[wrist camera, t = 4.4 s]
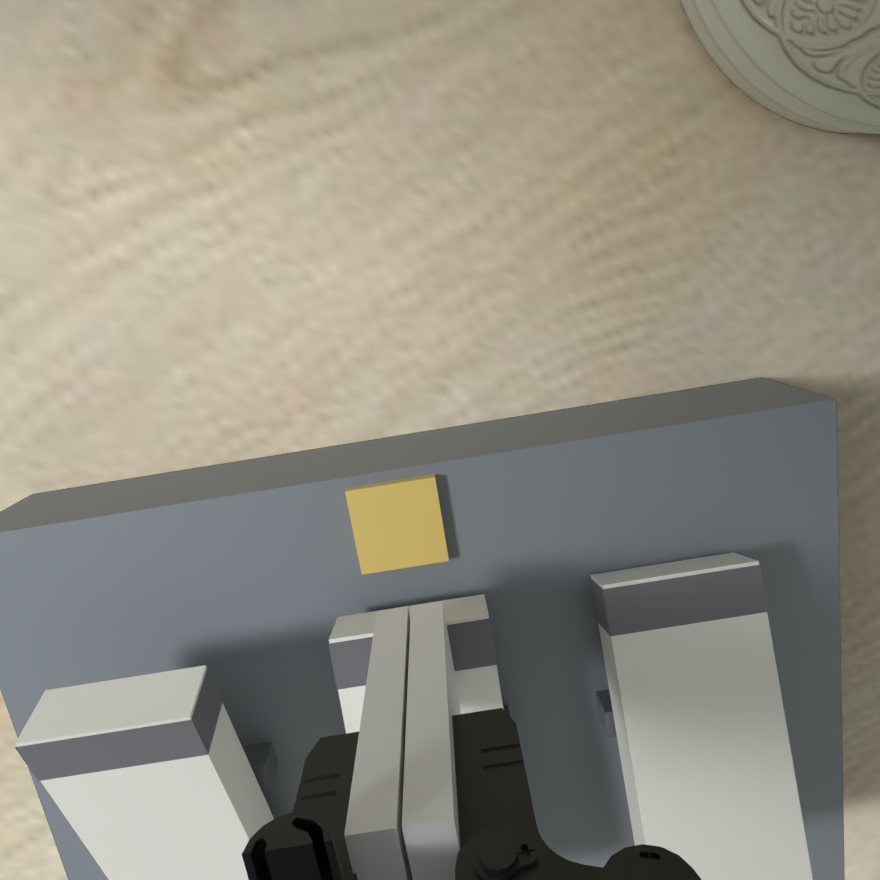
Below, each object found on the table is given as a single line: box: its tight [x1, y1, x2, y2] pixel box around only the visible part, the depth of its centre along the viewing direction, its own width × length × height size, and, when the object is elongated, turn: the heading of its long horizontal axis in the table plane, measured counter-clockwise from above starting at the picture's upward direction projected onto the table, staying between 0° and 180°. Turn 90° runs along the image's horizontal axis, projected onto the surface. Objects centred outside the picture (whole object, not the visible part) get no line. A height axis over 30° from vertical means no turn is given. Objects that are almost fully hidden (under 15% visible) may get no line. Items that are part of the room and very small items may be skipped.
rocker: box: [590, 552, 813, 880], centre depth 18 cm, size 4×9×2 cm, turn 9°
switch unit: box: [0, 378, 844, 880], centre depth 21 cm, size 24×16×5 cm, turn 99°
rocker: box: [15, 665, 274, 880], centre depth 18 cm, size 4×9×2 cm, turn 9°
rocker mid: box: [329, 594, 503, 734], centre depth 18 cm, size 4×9×2 cm, turn 9°
